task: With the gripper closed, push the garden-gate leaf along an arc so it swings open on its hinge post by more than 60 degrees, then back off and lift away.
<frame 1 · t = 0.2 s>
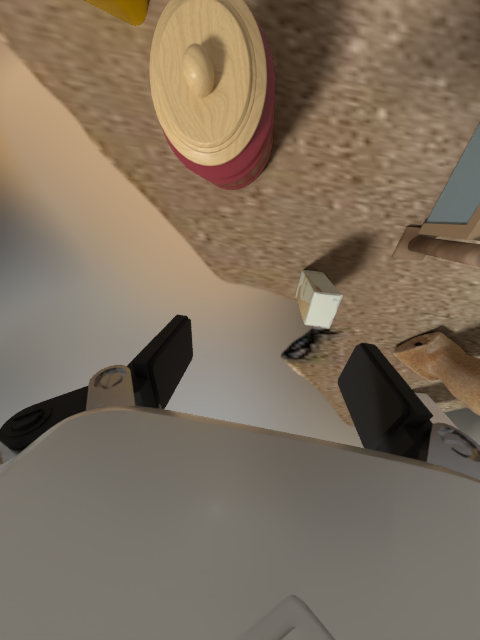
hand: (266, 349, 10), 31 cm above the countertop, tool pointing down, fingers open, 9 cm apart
skincare box: (308, 284, 39), on the countertop
gate frame: (413, 243, 32), on the countertop
canister: (233, 142, 29), on the countertop
stone cup: (431, 350, 42), on the countertop
milk: (409, 398, 51), on the countertop
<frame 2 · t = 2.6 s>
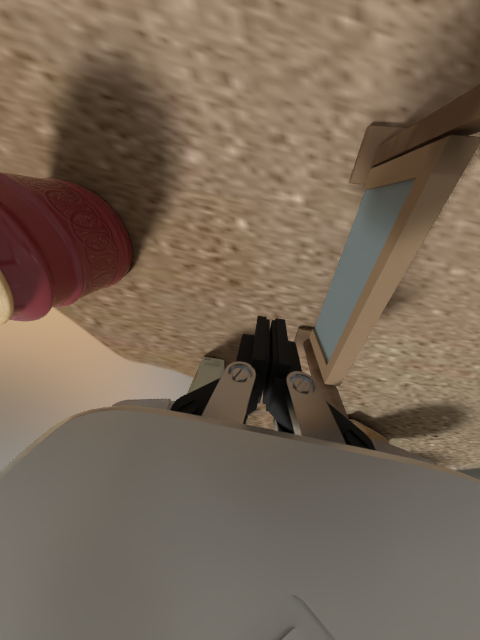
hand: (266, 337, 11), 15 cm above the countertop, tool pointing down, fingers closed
skincare box: (214, 368, 36), on the countertop
gate frame: (310, 342, 29), on the countertop
gate leaf: (353, 286, 18), point 5 cm above the countertop, hinge at 0.0°
canister: (91, 238, 25), on the countertop
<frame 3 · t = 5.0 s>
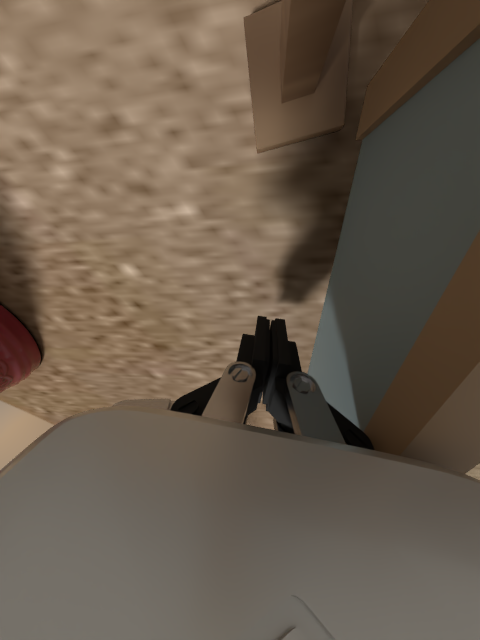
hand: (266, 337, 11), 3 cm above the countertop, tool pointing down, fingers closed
gate frame: (301, 405, 19), on the countertop
gate leaf: (358, 351, 8), point 5 cm above the countertop, hinge at 9.2°, touching gripper
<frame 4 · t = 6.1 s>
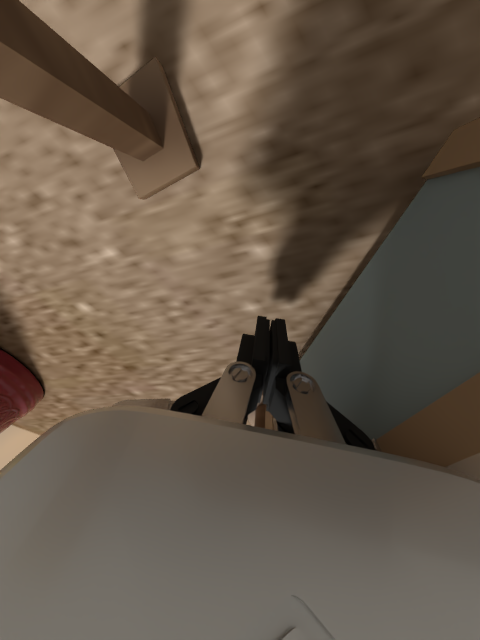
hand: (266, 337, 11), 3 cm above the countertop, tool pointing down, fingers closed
gate frame: (267, 406, 19), on the countertop
gate leaf: (357, 374, 9), point 5 cm above the countertop, hinge at 38.6°, touching gripper
canister: (1, 370, 24), on the countertop
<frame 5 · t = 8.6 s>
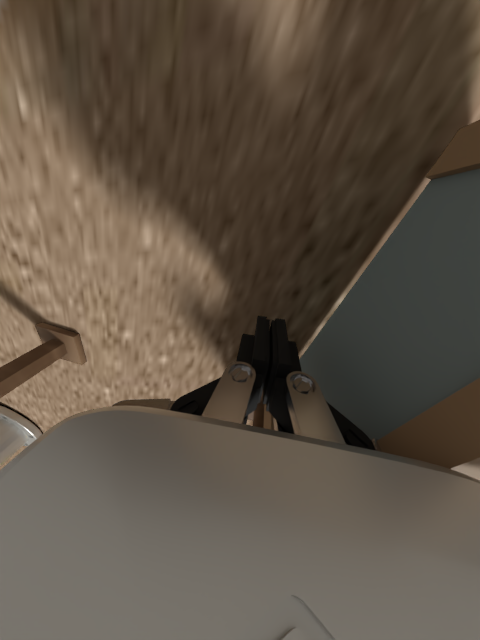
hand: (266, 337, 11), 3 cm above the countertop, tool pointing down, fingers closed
gate frame: (265, 405, 19), on the countertop
gate leaf: (357, 375, 9), point 5 cm above the countertop, hinge at 94.0°, touching gripper
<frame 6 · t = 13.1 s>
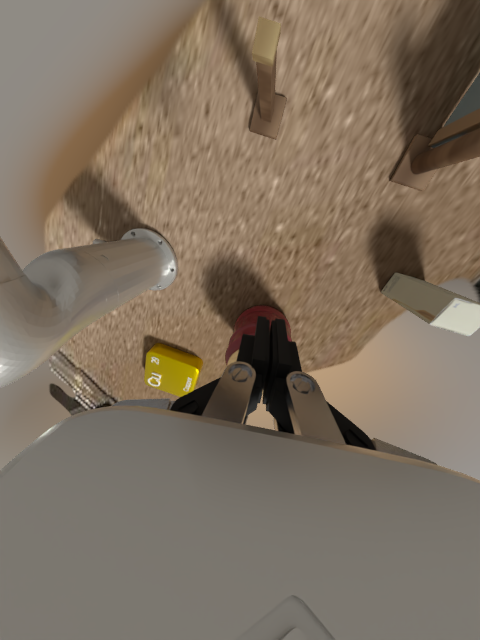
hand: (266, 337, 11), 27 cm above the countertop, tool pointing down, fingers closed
skincare box: (402, 286, 34), on the countertop
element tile: (176, 366, 55), on the countertop
gate frame: (418, 164, 26), on the countertop
canister: (262, 327, 43), on the countertop
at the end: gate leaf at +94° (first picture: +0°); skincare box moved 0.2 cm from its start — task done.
